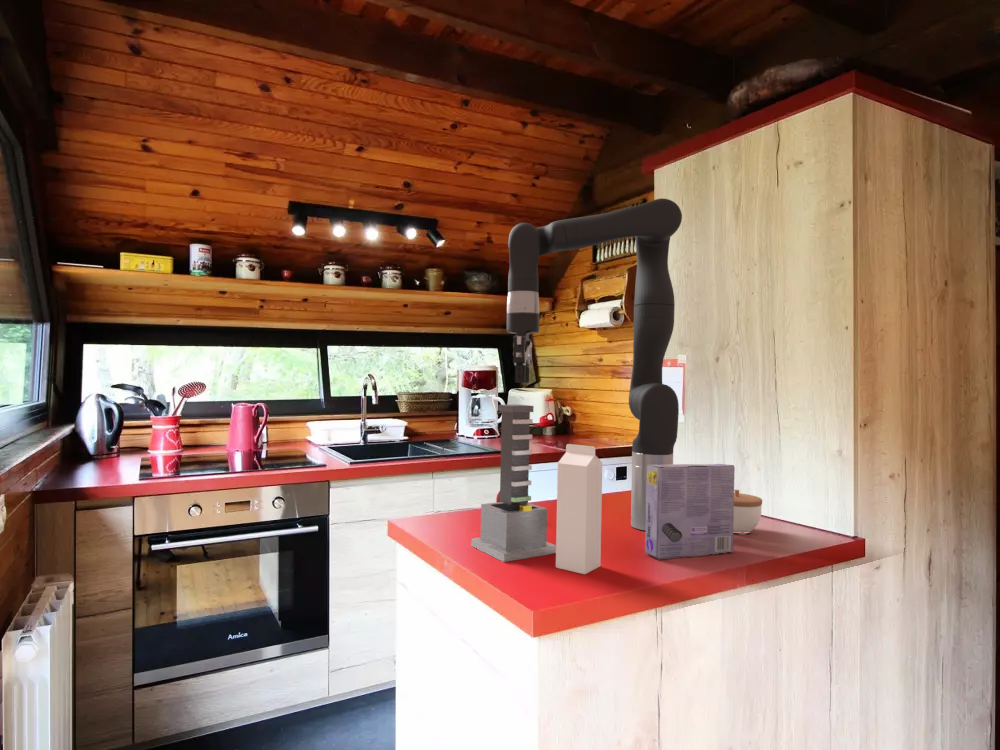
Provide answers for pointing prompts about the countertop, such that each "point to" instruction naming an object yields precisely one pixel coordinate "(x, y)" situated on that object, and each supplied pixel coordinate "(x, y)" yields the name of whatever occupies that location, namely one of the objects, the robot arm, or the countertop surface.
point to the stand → (513, 531)
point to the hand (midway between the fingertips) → (522, 382)
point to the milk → (579, 510)
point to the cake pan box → (689, 510)
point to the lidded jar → (746, 512)
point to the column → (515, 454)
